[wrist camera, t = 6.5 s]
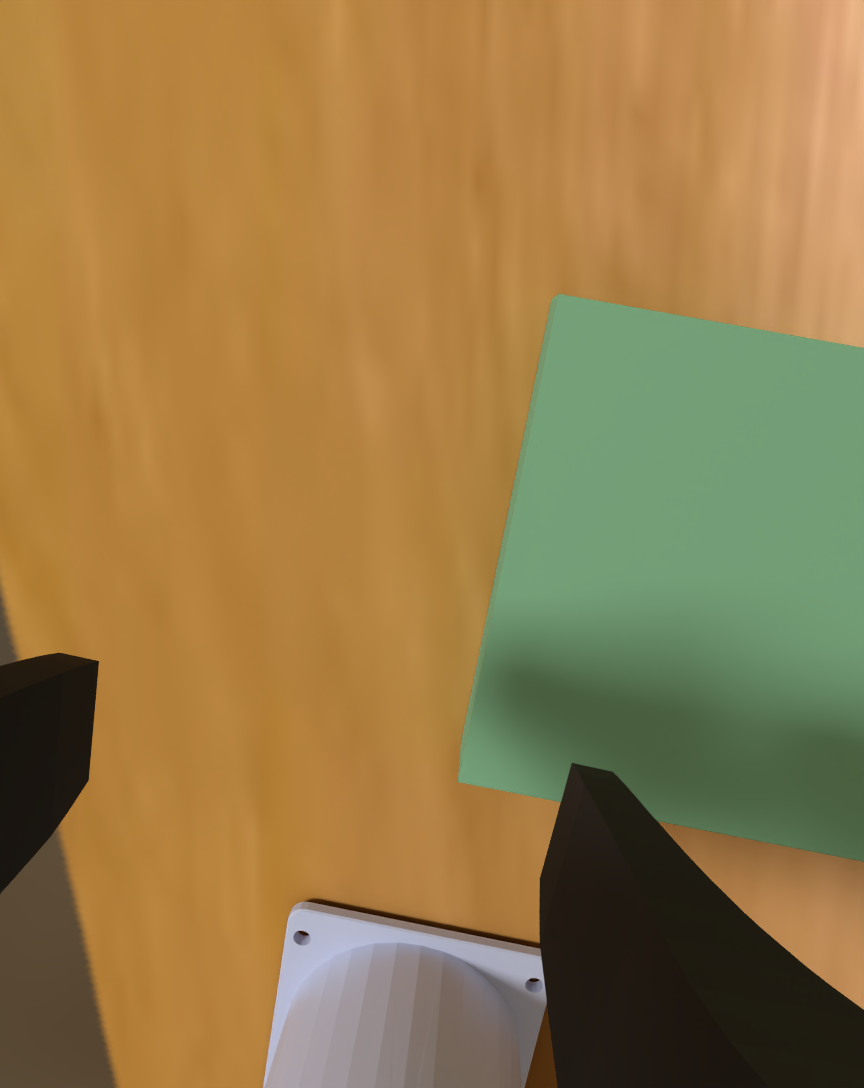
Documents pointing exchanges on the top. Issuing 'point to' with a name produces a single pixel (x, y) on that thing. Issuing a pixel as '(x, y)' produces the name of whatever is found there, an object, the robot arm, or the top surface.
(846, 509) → the green
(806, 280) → the top surface
